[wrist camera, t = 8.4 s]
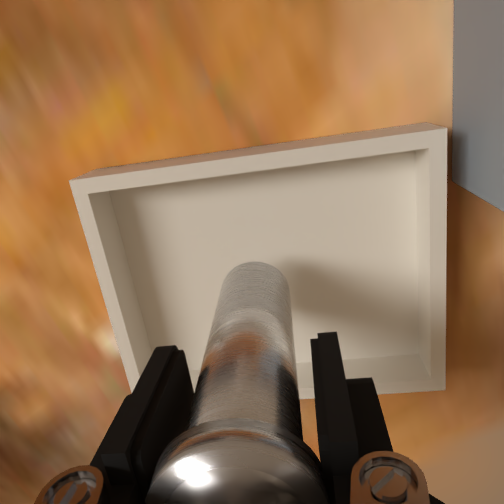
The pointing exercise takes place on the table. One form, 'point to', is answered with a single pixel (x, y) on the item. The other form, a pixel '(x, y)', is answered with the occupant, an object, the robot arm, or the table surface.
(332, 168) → the tray
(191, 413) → the lock pin
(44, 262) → the table surface
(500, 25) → the tensioner block
